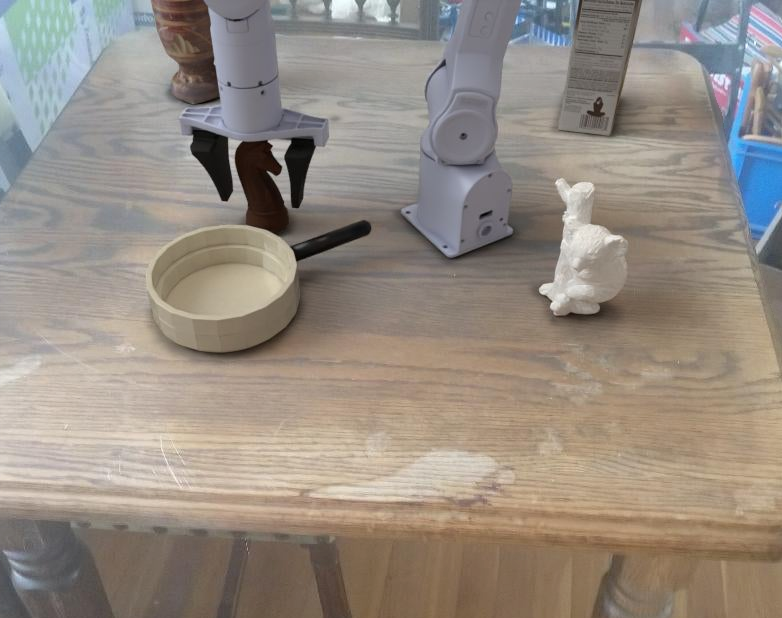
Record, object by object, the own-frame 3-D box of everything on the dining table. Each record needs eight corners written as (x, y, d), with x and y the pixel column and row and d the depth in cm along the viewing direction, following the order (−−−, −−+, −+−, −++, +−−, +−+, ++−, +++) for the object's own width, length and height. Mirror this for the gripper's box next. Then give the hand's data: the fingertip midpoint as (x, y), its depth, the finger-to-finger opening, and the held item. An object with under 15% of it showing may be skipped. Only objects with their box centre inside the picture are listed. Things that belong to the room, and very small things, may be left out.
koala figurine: (515, 290, 83) (532, 182, 74) (572, 268, 85) (595, 160, 76) (571, 343, 78) (596, 233, 69) (630, 318, 79) (662, 208, 70)
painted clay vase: (151, 75, 116) (118, -88, 102) (210, 59, 119) (187, -103, 104) (181, 112, 109) (150, -58, 94) (243, 94, 111) (223, -74, 97)
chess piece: (281, 239, 90) (272, 154, 83) (236, 232, 91) (223, 147, 84) (295, 214, 93) (288, 129, 86) (251, 208, 94) (240, 124, 87)
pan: (325, 322, 81) (323, 284, 78) (188, 377, 77) (179, 340, 74) (260, 245, 90) (256, 208, 86) (134, 291, 86) (124, 254, 82)
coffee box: (567, 93, 108) (590, -43, 96) (620, 99, 106) (650, -39, 94) (556, 131, 102) (579, -10, 90) (612, 137, 100) (643, -5, 88)
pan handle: (288, 268, 83) (287, 255, 82) (281, 259, 84) (280, 246, 83) (374, 236, 86) (374, 222, 85) (366, 228, 87) (366, 214, 86)
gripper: (333, 58, 81) (338, 184, 91) (188, 49, 84) (208, 172, 94) (316, 95, 76) (323, 223, 86) (162, 84, 79) (186, 209, 89)
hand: (262, 199), depth 90 cm, fingers open, 7 cm apart
